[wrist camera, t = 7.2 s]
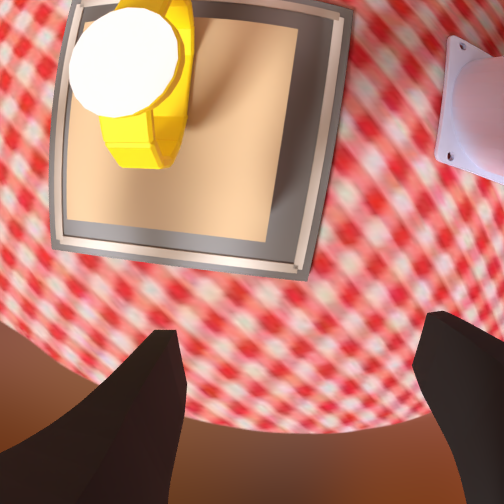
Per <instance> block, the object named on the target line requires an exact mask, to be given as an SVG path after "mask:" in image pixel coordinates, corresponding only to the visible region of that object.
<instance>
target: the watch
mask: <svg viewBox="0 0 504 504" xmlns="http://www.w3.org/2000/svg"><path fill="white" fill-rule="evenodd" d="M194 31H195V26H194V16H193V9H192V2H191V0H120V2H119V3H118V5H117V7H116V8H115V10H114V11H111V12H109V13H107V14H106V15H104V16H102V17H101V18H99V19H97V20H96V21H94V22H93V23H92V24H91V25H90V26H89V27H88V28H87V29H86V30H85V31H84V32H83V33H82V35H81V37H80V38H79V40H78V42H77V43H76V45H75V47H74V49H73V52H72V56H71V59H70V63H69V82H70V85H71V88H72V90H73V93H74V96H75V97H76V99H77V100H78V101H79V102H80V103H81V104H82V106H83V107H84V108H85V109H87V110H89V111H91V112H93V113H95V114H96V115H98V116H99V121H100V127H101V132H102V137H103V141H104V142H105V146H106V147H107V149H108V150H109V151H110V153H111V154H112V156H113V157H114V159H115V160H116V162H117V163H118V165H119V166H121V167H122V168H145V169H164V168H169V167H170V166H171V165H172V164H173V163H174V161H175V159H176V156H177V154H178V152H179V150H180V145H181V144H182V140H183V135H184V131H185V127H186V123H187V119H188V115H187V111H188V101H189V91H190V82H191V74H192V65H193V58H194Z"/></svg>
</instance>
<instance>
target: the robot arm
mask: <svg viewBox="0 0 504 504" xmlns="http://www.w3.org/2000/svg"><path fill="white" fill-rule="evenodd" d="M460 44H461V45H462V48H463V50H462V49H461V47H460ZM449 152H450V155H451V157H450V159H449V160H448V158H447V155H448V153H449ZM434 155H435V158H436V160H437V161H439V162H441V163H444V164H447V165H450V166H453V167H456V168H459V169H462V170H465V171H468V172H470V173H473V174H476V175H479V176H481V177H484V178H486V179H489V180H492V181H494V182H497V183H499V184H502V185H504V56H499V57H492V56H491V55H489V54H488V53H486V52H484V51H483V50H481V49H479V48H477V47H476V46H474V45H472V44H470V43H469V42H467V41H465V40H463V39H461V38H459V37H457V36H455V35H453V36H449V37H448V38H447V51H446V66H445V78H444V88H443V97H442V106H441V113H440V120H439V127H438V134H437V140H436V146H435V151H434ZM412 367H413V370H414V373H415V376H416V378H417V381H418V384H419V386H420V389H421V392H422V394H423V396H424V398H425V400H426V401H427V403H428V405H429V407H430V409H431V411H432V413H433V415H434V417H435V418H436V421H437V423H438V424H439V426H440V428H441V430H442V432H443V434H444V436H445V438H446V440H447V442H448V444H449V446H450V449H451V451H452V453H453V455H454V459H455V462H456V465H457V467H458V471H459V474H460V477H461V481H462V485H463V489H464V493H465V498H466V502H467V504H504V342H503V341H501V340H499V339H497V338H495V337H494V336H492V335H490V334H488V333H486V332H485V331H483V330H481V329H479V328H477V327H476V326H474V325H472V324H470V323H468V322H466V321H464V320H462V319H460V318H458V317H456V316H454V315H452V314H450V313H448V312H445V311H438V312H431V313H427V316H426V320H425V323H424V327H423V331H422V334H421V338H420V341H419V344H418V348H417V351H416V354H415V358H414V361H413V364H412ZM186 392H187V381H186V377H185V372H184V367H183V363H182V358H181V353H180V348H179V343H178V337H177V332H176V330H154V331H153V332H152V333H151V334H150V335H149V336H148V337H147V338H146V339H145V340H144V341H143V342H142V343H141V344H140V345H139V346H138V348H137V349H136V350H135V351H134V352H133V353H132V354H131V355H130V356H129V357H128V358H127V359H126V360H125V361H124V362H123V363H122V364H121V365H120V366H119V367H118V368H117V369H116V370H115V371H114V372H113V373H112V374H111V375H110V376H109V377H108V378H107V379H106V380H105V381H104V382H102V383H101V384H100V385H99V386H98V387H97V388H96V389H95V390H94V391H93V392H92V393H90V394H89V395H88V396H87V397H86V398H85V399H84V400H82V401H81V402H80V403H79V404H78V405H76V406H75V407H74V408H72V409H71V410H70V411H69V412H67V413H66V414H64V415H63V416H62V417H60V418H59V419H58V420H56V421H55V422H53V423H52V424H50V425H49V426H47V427H46V428H44V429H43V430H41V431H39V432H38V433H36V434H34V435H33V436H31V437H30V438H28V439H26V440H24V441H23V442H21V443H19V444H17V445H16V446H14V447H12V448H10V449H7V450H6V451H3V452H1V453H0V504H168V495H169V487H170V481H171V475H172V470H173V466H174V461H175V457H176V452H177V447H178V442H179V437H180V433H181V429H182V424H183V419H184V414H185V403H186Z"/></svg>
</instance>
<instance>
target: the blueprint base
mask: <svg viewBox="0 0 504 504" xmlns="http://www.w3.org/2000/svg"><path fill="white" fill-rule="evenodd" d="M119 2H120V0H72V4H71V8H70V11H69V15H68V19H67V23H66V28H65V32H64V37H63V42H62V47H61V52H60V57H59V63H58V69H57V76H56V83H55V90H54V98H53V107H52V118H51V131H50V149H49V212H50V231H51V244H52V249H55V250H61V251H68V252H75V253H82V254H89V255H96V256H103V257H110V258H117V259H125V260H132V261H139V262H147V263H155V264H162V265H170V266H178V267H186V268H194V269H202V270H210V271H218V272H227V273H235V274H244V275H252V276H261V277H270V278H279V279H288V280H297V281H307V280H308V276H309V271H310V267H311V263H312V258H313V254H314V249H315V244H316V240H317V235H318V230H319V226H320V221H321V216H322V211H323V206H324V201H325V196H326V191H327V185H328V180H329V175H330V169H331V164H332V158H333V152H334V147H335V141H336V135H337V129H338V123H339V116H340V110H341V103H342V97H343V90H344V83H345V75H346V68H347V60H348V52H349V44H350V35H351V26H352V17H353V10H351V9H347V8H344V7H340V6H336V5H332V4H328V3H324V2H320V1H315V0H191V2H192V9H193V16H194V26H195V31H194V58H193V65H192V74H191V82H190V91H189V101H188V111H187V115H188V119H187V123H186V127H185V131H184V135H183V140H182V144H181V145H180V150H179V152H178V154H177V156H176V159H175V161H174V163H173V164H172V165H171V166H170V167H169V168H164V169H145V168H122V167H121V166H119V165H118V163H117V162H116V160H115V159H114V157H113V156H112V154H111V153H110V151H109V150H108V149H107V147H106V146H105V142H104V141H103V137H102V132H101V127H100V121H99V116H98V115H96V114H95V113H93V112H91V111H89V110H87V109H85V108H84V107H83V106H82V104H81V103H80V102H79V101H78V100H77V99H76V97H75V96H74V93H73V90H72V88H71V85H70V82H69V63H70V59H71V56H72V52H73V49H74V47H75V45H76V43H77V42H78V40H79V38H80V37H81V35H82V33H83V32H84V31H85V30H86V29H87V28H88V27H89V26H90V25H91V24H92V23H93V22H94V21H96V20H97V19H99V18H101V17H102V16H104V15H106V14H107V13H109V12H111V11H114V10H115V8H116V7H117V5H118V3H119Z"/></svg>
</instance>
